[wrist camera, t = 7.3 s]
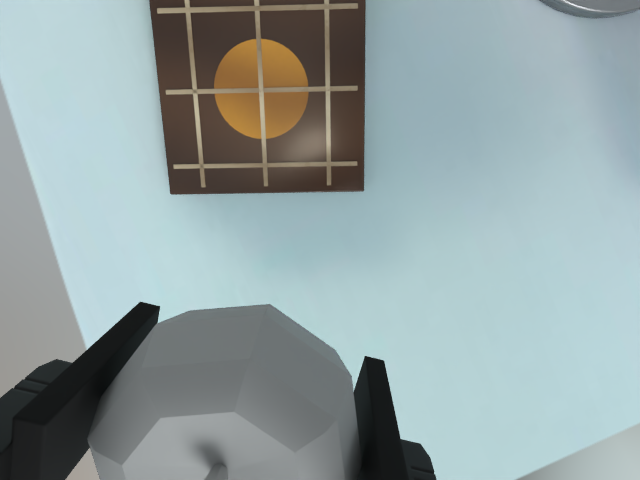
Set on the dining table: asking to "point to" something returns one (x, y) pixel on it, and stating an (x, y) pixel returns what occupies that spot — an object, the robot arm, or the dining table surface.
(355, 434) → the apple
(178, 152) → the board
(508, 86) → the dining table surface
